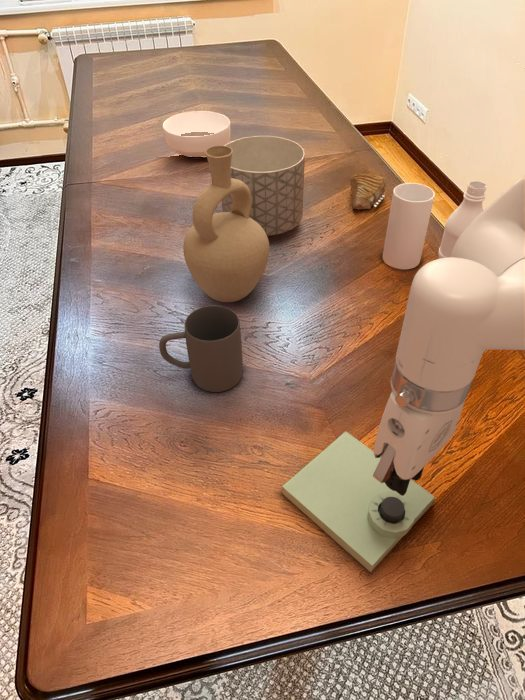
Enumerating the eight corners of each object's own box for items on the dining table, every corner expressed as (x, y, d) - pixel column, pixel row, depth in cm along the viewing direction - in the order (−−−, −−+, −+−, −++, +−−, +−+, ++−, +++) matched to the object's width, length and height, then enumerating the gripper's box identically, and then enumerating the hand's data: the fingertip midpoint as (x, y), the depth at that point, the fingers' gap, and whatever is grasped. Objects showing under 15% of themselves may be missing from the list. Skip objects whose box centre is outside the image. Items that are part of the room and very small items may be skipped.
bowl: (192, 172, 152) (189, 142, 146) (153, 151, 163) (149, 122, 157) (245, 151, 161) (244, 123, 155) (204, 133, 172) (202, 105, 166)
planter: (272, 199, 140) (272, 129, 127) (317, 230, 128) (322, 156, 116) (209, 221, 132) (202, 149, 120) (251, 256, 121) (249, 180, 108)
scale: (435, 506, 75) (440, 492, 73) (373, 575, 69) (377, 562, 66) (344, 438, 84) (346, 424, 82) (281, 493, 77) (282, 480, 75)
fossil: (381, 190, 142) (347, 186, 142) (387, 171, 138) (353, 167, 137) (386, 219, 135) (351, 215, 134) (393, 200, 130) (356, 196, 130)
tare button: (407, 512, 71) (409, 506, 70) (393, 527, 70) (395, 521, 69) (388, 498, 73) (390, 492, 72) (375, 512, 71) (376, 506, 70)
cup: (388, 245, 123) (399, 179, 112) (424, 253, 121) (439, 187, 110) (377, 263, 118) (388, 197, 107) (414, 273, 115) (429, 205, 104)
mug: (240, 353, 98) (237, 302, 90) (246, 390, 92) (243, 338, 83) (165, 361, 97) (155, 310, 89) (166, 399, 91) (154, 347, 82)
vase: (235, 328, 103) (225, 182, 83) (172, 297, 111) (149, 155, 90) (285, 286, 113) (288, 145, 92) (224, 259, 120) (214, 124, 99)
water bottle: (429, 286, 112) (457, 172, 95) (464, 293, 110) (500, 178, 93) (424, 307, 107) (453, 191, 90) (461, 314, 105) (499, 197, 88)
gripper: (416, 445, 47) (386, 543, 60) (506, 355, 55) (462, 459, 68) (349, 399, 51) (334, 500, 64) (442, 322, 59) (413, 426, 72)
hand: (401, 479), depth 66 cm, fingers closed
